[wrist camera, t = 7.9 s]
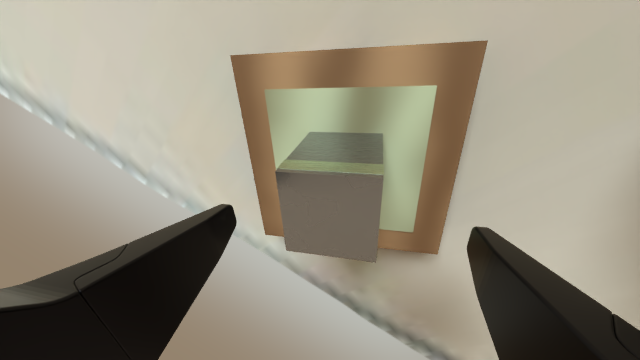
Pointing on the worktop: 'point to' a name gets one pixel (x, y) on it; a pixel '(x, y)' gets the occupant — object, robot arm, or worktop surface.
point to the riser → (367, 123)
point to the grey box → (333, 195)
